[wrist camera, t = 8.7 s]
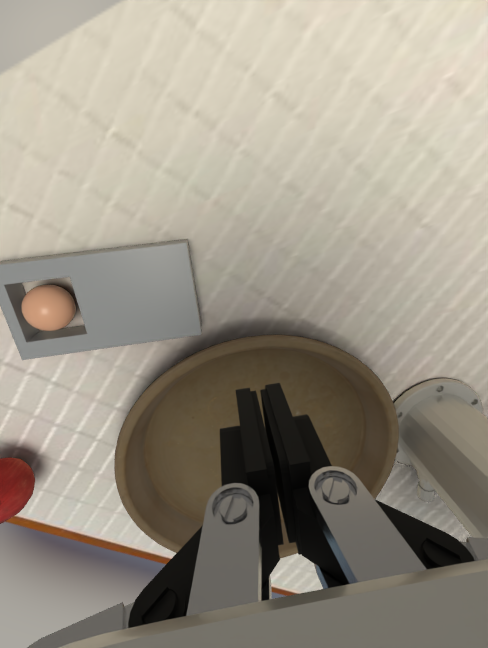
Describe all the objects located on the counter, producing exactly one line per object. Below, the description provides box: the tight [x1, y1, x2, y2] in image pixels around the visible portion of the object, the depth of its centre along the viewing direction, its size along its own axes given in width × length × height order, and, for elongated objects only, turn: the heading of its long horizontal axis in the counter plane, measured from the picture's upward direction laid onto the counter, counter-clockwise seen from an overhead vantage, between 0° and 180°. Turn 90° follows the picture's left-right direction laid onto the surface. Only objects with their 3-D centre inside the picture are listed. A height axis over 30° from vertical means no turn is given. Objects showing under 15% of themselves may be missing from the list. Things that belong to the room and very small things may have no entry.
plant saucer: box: [115, 335, 399, 558], centre depth 37 cm, size 31×31×5 cm
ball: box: [22, 285, 76, 331], centre depth 28 cm, size 4×4×4 cm
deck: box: [0, 239, 202, 360], centre depth 29 cm, size 8×16×2 cm, turn 95°
